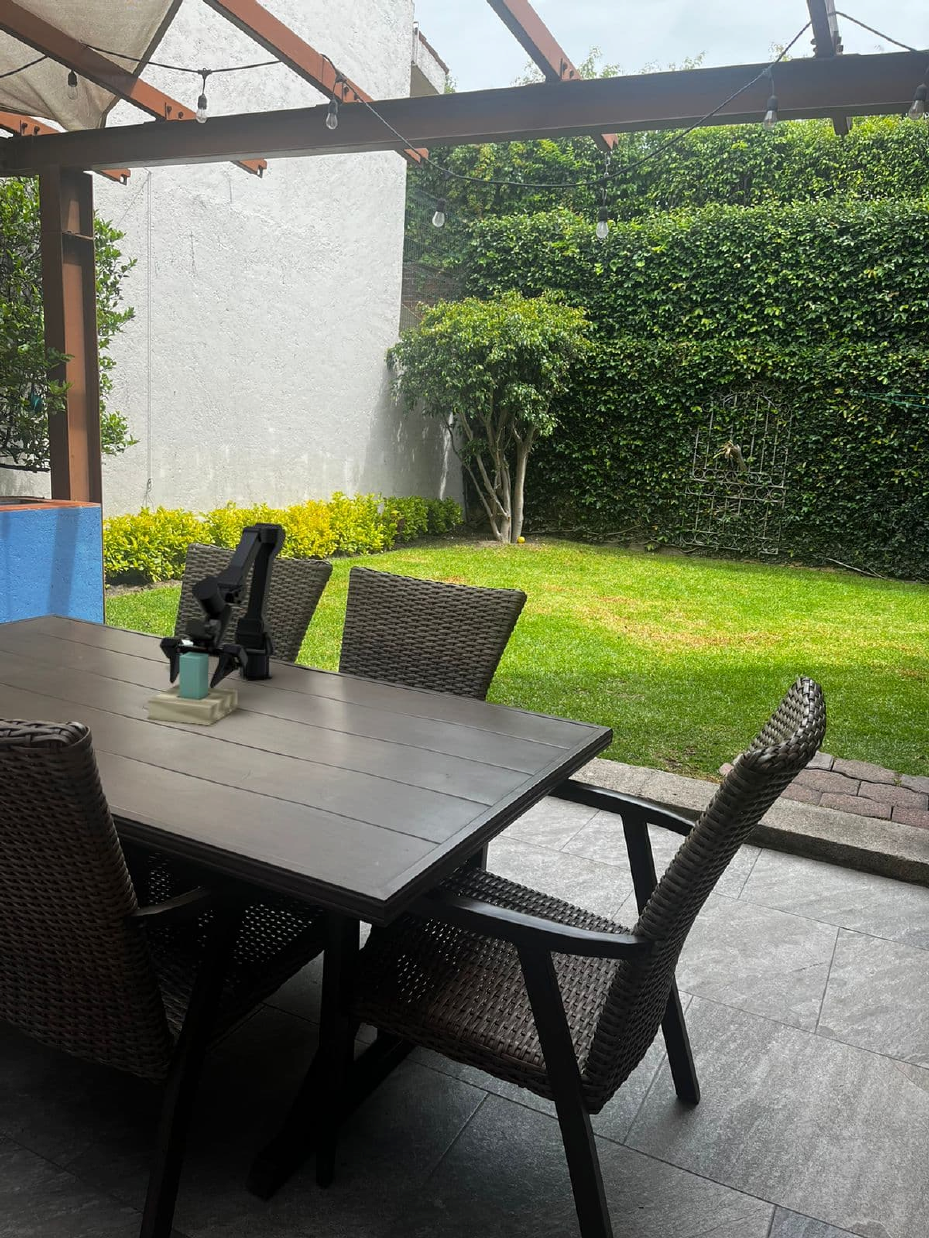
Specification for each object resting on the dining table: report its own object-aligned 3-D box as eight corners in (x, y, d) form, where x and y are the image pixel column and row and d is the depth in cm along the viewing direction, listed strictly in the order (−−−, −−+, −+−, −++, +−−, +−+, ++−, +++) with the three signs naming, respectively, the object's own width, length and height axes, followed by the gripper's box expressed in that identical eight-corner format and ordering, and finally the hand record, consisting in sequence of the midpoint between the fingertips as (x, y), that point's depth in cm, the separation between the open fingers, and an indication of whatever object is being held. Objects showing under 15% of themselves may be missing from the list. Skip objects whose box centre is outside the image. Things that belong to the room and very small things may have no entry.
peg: (188, 708, 203) (189, 652, 200) (207, 711, 202) (208, 654, 200) (179, 714, 199) (179, 656, 196) (198, 717, 198) (199, 658, 195)
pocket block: (179, 700, 208) (179, 683, 208) (237, 707, 206) (237, 690, 205) (147, 718, 195) (147, 700, 194) (209, 725, 192) (209, 707, 192)
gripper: (163, 600, 201) (137, 660, 193) (243, 609, 198) (220, 670, 190) (180, 629, 210) (156, 687, 202) (257, 637, 207) (235, 697, 199)
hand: (191, 684), depth 198 cm, fingers open, 9 cm apart
